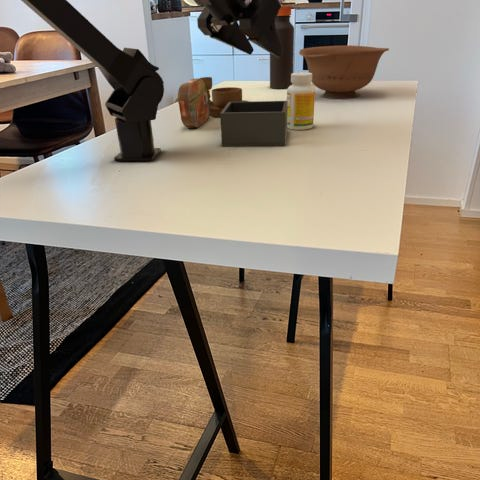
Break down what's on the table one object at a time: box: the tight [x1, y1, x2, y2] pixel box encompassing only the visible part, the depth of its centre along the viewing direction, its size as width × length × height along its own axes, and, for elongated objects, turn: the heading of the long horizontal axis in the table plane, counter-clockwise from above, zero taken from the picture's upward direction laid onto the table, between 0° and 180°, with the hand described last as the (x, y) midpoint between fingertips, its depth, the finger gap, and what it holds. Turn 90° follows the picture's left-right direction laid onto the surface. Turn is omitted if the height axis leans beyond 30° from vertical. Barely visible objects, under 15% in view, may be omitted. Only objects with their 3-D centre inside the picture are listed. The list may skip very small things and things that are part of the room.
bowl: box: [298, 44, 390, 99], centre depth 122 cm, size 22×22×11 cm
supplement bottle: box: [286, 71, 316, 131], centre depth 93 cm, size 5×5×10 cm
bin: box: [219, 100, 288, 147], centre depth 88 cm, size 11×11×6 cm
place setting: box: [202, 76, 251, 117], centre depth 113 cm, size 18×20×6 cm
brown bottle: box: [269, 5, 295, 90], centre depth 135 cm, size 7×7×20 cm
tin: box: [177, 77, 211, 129], centre depth 100 cm, size 15×3×8 cm, turn 169°
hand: (265, 53), depth 85 cm, fingers open, 9 cm apart
